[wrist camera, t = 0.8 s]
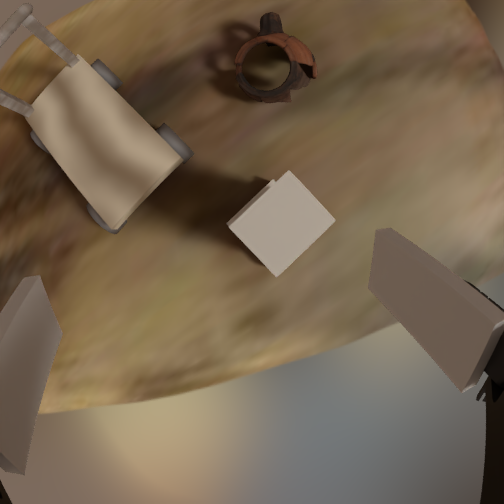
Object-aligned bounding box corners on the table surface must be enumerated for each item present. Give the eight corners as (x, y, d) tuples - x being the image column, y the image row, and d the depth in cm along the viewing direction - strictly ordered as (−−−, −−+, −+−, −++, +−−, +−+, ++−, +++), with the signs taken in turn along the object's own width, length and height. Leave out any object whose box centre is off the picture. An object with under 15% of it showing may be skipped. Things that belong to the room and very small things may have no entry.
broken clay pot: (329, 98, 37) (315, 94, 30) (260, 112, 41) (233, 113, 34) (307, 15, 33) (288, -5, 26) (241, 33, 37) (211, 21, 30)
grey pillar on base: (271, 181, 37) (284, 155, 23) (313, 225, 37) (349, 225, 23) (227, 223, 37) (213, 222, 23) (269, 267, 38) (281, 291, 24)
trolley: (104, 66, 35) (32, -10, 16) (200, 160, 36) (153, 99, 17) (42, 133, 36) (-53, 94, 17) (126, 236, 37) (27, 246, 18)
